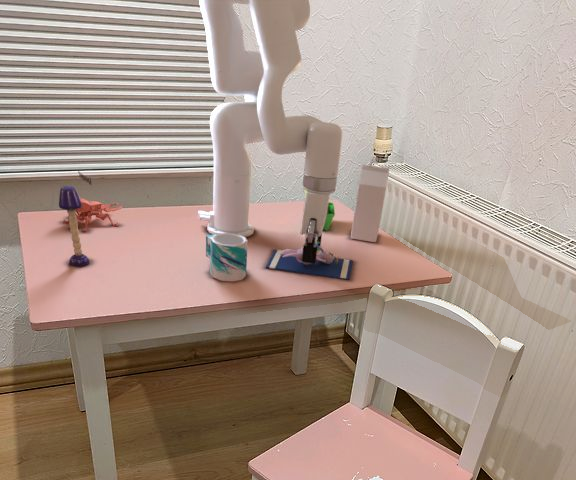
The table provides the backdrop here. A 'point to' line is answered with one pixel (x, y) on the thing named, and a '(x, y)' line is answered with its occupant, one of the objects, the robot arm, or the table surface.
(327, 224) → the fruit basket
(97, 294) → the table surface
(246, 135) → the robot arm
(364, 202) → the milk carton
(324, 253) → the rabbit figure
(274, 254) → the cloth
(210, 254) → the mug
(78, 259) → the toy lamp
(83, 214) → the beetle
